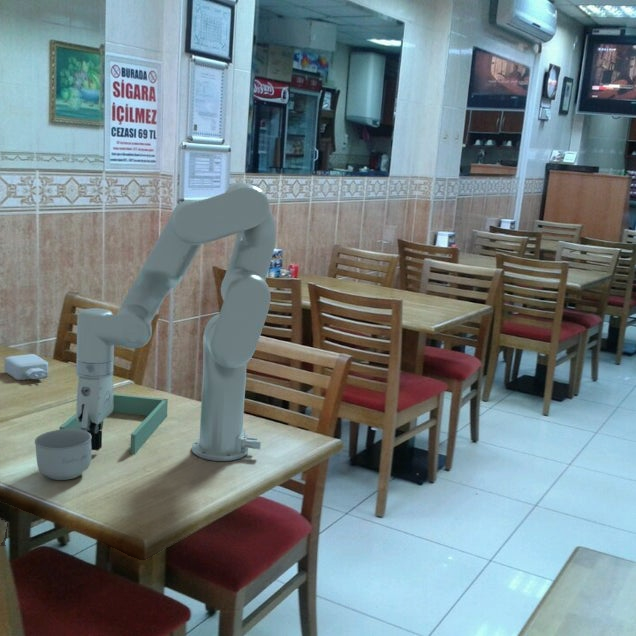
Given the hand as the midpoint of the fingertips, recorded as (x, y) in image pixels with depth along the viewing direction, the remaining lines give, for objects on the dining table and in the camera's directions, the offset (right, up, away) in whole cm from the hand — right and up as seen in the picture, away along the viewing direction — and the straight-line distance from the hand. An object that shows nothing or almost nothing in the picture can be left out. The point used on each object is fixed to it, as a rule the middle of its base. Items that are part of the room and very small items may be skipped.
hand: (93, 448), depth 162 cm
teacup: (-2, -3, -9) cm, 10 cm away
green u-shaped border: (+1, +2, +15) cm, 15 cm away
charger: (-32, +11, +49) cm, 60 cm away
